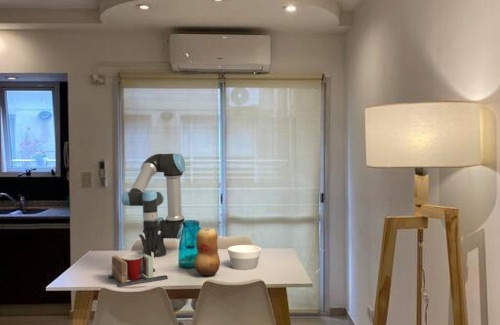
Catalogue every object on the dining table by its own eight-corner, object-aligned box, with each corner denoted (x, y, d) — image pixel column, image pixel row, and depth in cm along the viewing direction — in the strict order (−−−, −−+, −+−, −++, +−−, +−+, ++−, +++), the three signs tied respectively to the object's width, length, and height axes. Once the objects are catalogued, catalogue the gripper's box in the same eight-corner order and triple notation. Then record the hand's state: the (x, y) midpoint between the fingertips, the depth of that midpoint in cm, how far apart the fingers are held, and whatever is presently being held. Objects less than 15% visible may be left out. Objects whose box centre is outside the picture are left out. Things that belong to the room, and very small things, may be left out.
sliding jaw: (142, 270, 255) (141, 251, 254) (153, 277, 241) (152, 257, 241) (136, 271, 253) (136, 252, 253) (147, 277, 240) (147, 258, 239)
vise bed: (153, 270, 260) (153, 250, 260) (167, 279, 244) (167, 257, 244) (108, 277, 246) (108, 256, 246) (120, 287, 230) (119, 263, 230)
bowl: (245, 273, 255) (245, 253, 254) (220, 267, 268) (220, 248, 267) (268, 266, 269) (268, 248, 269) (243, 261, 282) (243, 243, 282)
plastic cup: (146, 279, 241) (143, 256, 240) (125, 283, 237) (122, 260, 236) (144, 273, 251) (141, 251, 250) (123, 277, 248) (120, 255, 247)
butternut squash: (191, 278, 245) (190, 230, 244) (198, 271, 259) (198, 226, 258) (217, 279, 243) (216, 231, 242) (222, 272, 256) (222, 226, 255)
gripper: (141, 222, 242) (143, 267, 243) (164, 219, 249) (165, 263, 250) (136, 220, 248) (137, 264, 249) (159, 217, 255) (160, 260, 256)
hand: (151, 264), depth 249 cm, fingers closed
